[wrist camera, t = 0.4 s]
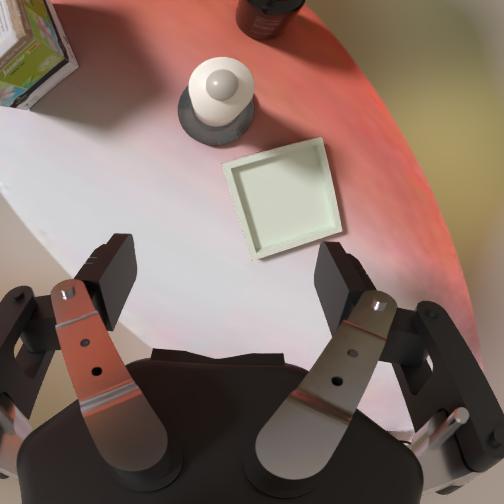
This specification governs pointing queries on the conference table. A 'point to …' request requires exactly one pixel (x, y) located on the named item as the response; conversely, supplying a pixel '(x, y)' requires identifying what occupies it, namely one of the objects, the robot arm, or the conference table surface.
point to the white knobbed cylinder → (220, 90)
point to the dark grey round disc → (211, 133)
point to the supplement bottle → (266, 17)
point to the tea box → (31, 52)
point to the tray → (283, 197)
